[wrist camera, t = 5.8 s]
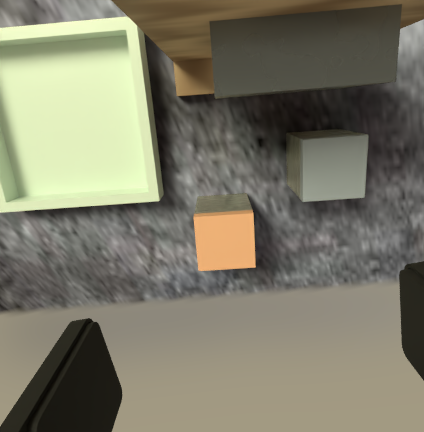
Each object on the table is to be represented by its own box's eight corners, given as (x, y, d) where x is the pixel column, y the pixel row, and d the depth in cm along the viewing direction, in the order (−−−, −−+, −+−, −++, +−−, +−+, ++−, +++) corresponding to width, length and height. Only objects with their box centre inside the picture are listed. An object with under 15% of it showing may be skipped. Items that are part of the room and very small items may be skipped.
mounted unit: (179, 102, 28) (111, 100, 10) (172, 37, 27) (79, -107, 9) (350, 88, 28) (606, 59, 10) (353, 21, 26) (664, -168, 8)
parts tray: (15, 204, 31) (-1, 212, 29) (-28, 38, 27) (-52, 32, 25) (163, 193, 31) (159, 201, 28) (142, 23, 26) (135, 15, 24)
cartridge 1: (201, 241, 32) (198, 270, 26) (197, 196, 31) (193, 217, 25) (248, 238, 32) (255, 267, 26) (246, 193, 31) (253, 213, 25)
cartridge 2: (286, 183, 30) (302, 201, 25) (286, 132, 29) (303, 140, 23) (336, 179, 30) (364, 197, 25) (338, 128, 29) (368, 134, 23)
